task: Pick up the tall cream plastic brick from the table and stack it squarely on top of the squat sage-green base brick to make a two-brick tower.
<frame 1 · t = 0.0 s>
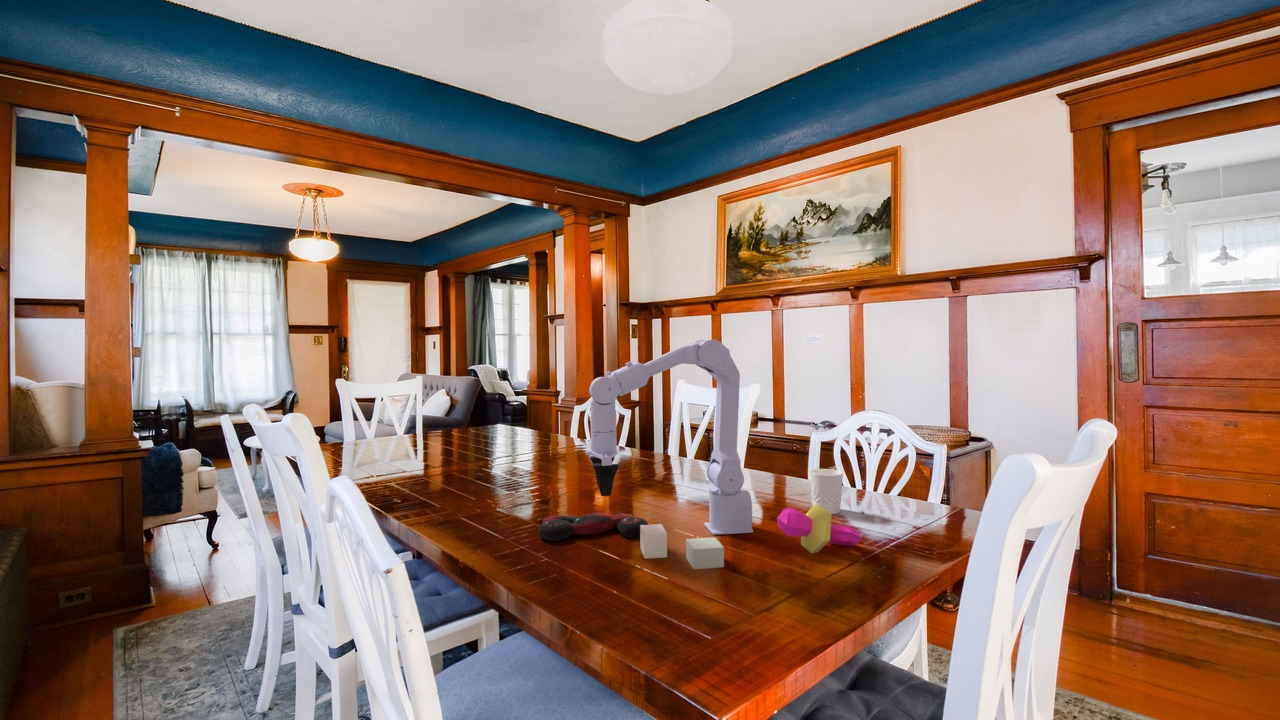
hand: (604, 491, 130), 10 cm above the table, tool pointing down, fingers open, 7 cm apart
toy motorcycle: (593, 532, 135), on the table
toy: (817, 550, 122), on the table
cream brick: (653, 553, 120), on the table
sage base brick: (704, 563, 115), on the table
white cup: (826, 511, 150), on the table
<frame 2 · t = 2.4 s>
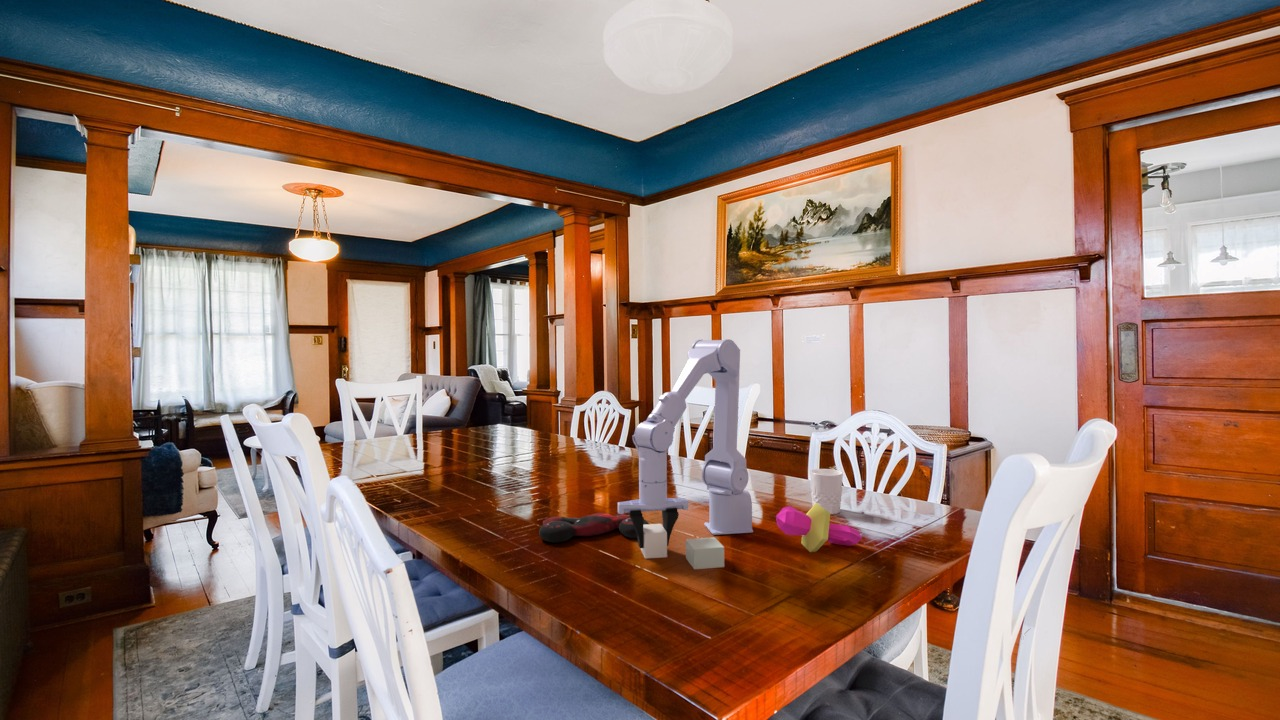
hand: (653, 545, 120), 1 cm above the table, tool pointing down, fingers closed on cream brick, 5 cm apart
cream brick: (653, 552, 120), on the table, touching gripper
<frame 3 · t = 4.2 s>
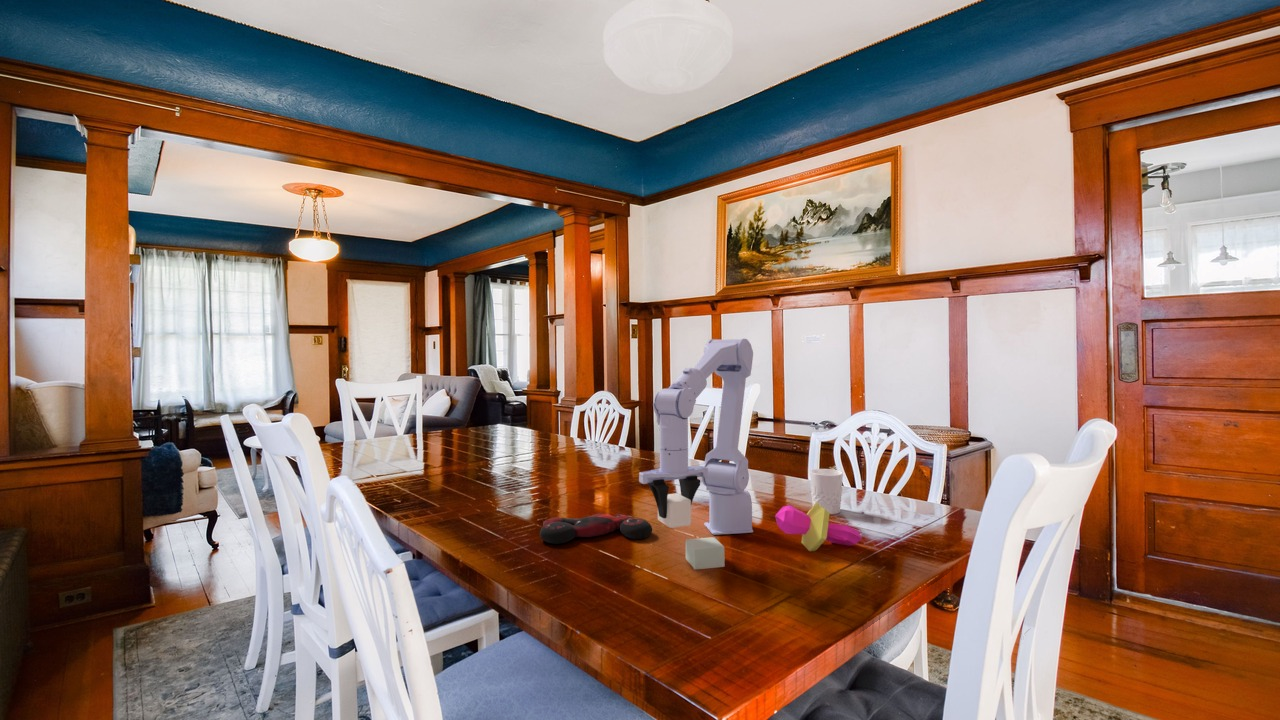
hand: (674, 515, 118), 8 cm above the table, tool pointing down, fingers closed on cream brick, 4 cm apart
cream brick: (674, 522, 118), point 7 cm above the table, touching gripper
when the fingers open (7 cm above the table, at t = 5.8 s): cream brick drops 2 cm, resting on sage base brick.
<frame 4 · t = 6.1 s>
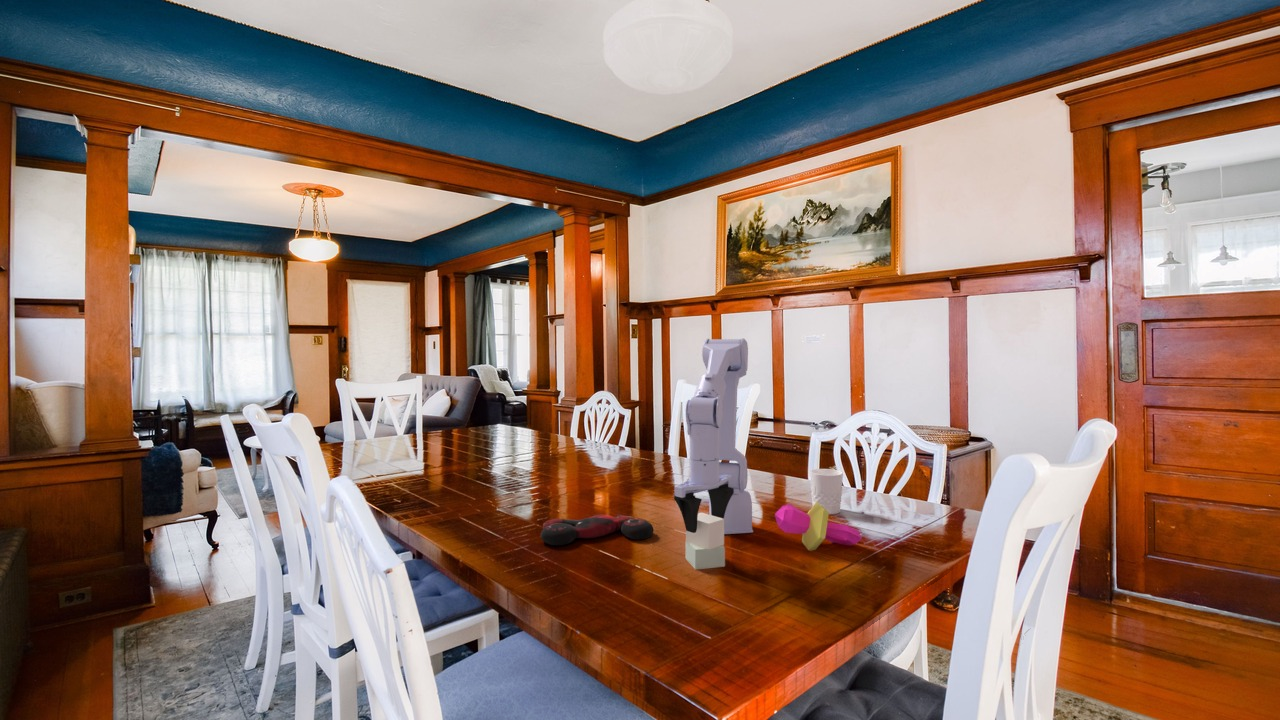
hand: (704, 527, 115), 7 cm above the table, tool pointing down, fingers open, 7 cm apart
cream brick: (704, 543, 115), point 4 cm above the table, touching sage base brick
sage base brick: (704, 563, 115), on the table, touching cream brick
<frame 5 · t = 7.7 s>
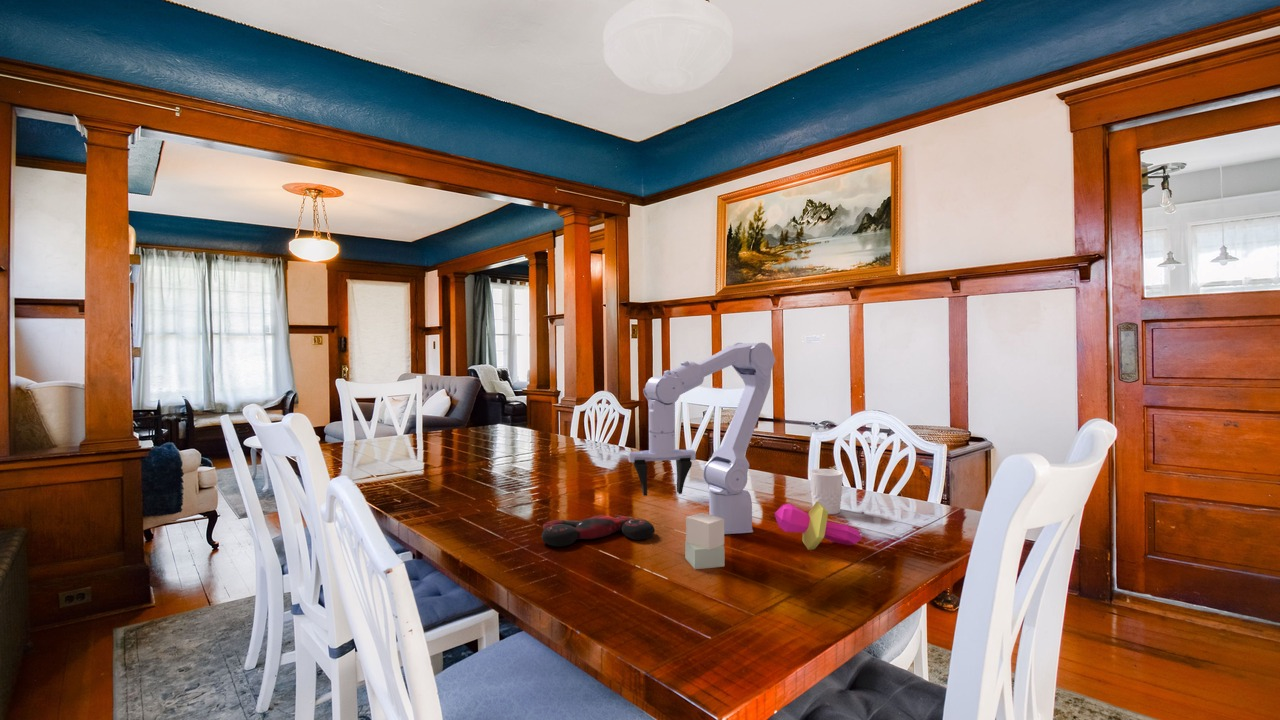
hand: (662, 493, 127), 10 cm above the table, tool pointing down, fingers open, 7 cm apart
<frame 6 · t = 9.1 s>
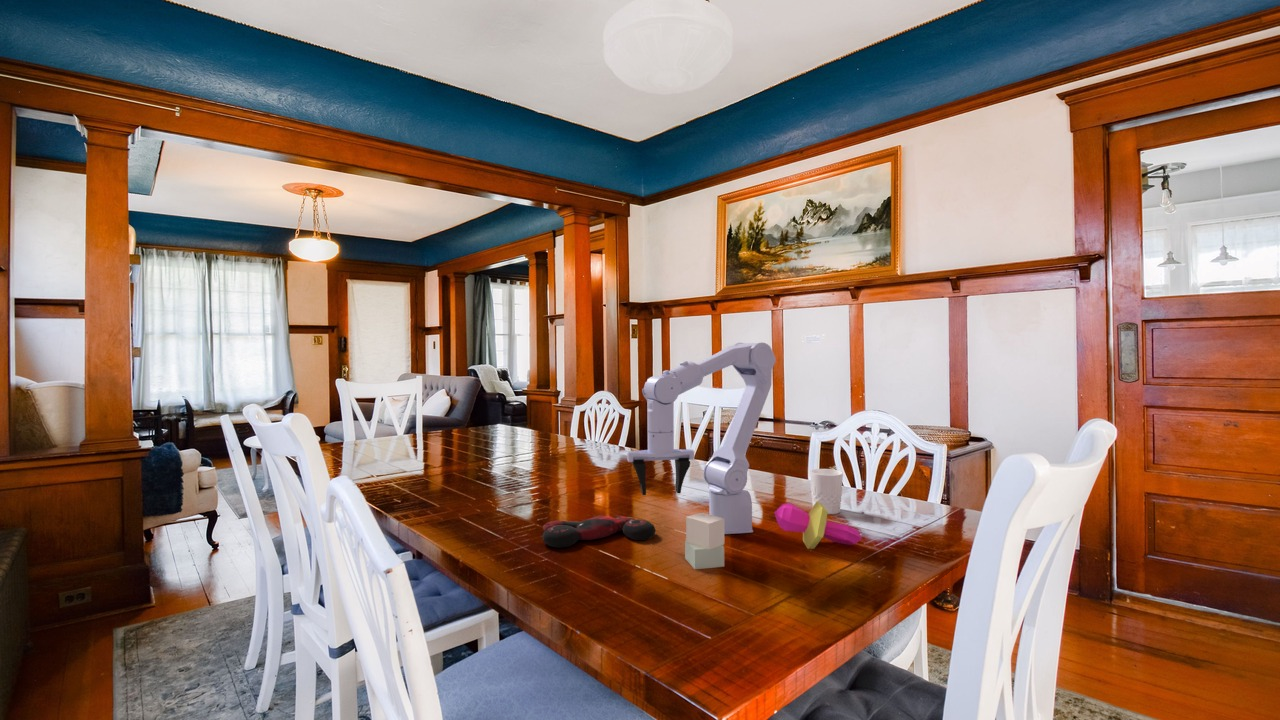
hand: (660, 493, 127), 10 cm above the table, tool pointing down, fingers open, 7 cm apart
cream brick: (705, 542, 115), point 4 cm above the table
sage base brick: (704, 563, 115), on the table
at the end: cream brick 0.2 cm off-centre on the sage base brick, point 4.0 cm above the sage base brick's base; cream brick tilted 0°; the gripper is holding nothing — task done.
